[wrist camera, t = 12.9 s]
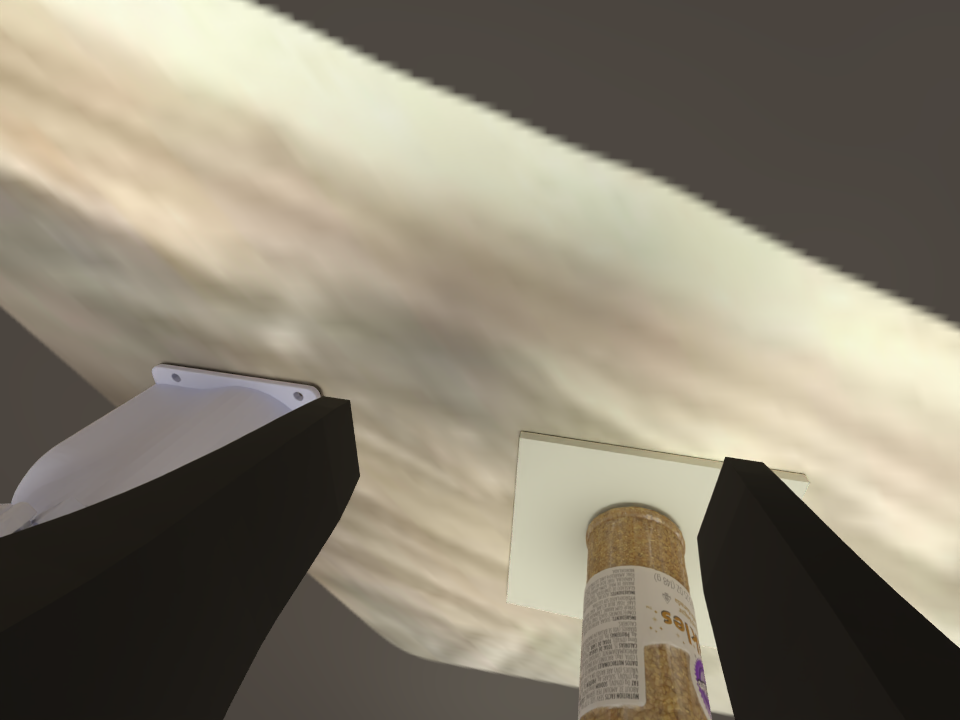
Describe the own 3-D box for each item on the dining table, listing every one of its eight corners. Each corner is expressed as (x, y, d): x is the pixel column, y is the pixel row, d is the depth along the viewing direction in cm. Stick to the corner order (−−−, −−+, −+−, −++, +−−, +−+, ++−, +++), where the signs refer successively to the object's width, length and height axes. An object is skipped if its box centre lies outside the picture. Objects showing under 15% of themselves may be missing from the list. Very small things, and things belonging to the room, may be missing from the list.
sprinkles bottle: (702, 552, 22) (808, 1047, 10) (617, 577, 24) (628, 1011, 13) (649, 487, 21) (704, 961, 9) (565, 519, 23) (525, 937, 11)
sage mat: (507, 595, 27) (506, 603, 27) (521, 431, 22) (519, 437, 21) (726, 642, 25) (728, 651, 25) (805, 474, 19) (810, 482, 19)
